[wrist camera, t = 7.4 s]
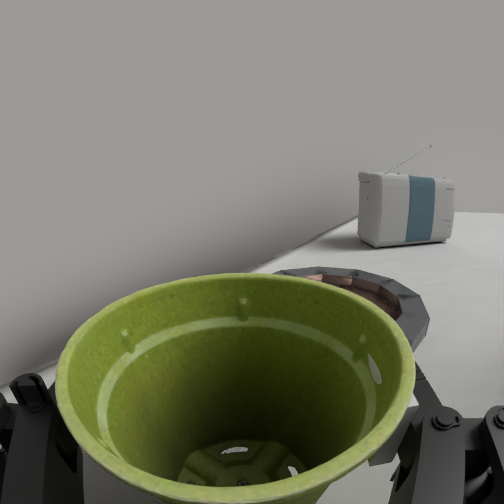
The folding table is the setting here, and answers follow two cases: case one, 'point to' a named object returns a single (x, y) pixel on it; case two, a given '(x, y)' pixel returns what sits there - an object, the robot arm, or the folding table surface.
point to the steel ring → (376, 296)
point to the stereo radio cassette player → (404, 208)
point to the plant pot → (235, 387)
